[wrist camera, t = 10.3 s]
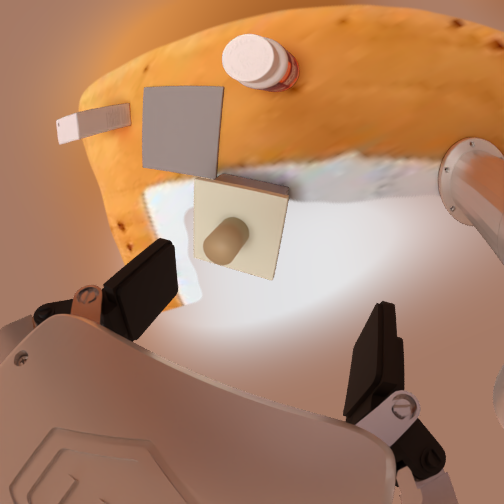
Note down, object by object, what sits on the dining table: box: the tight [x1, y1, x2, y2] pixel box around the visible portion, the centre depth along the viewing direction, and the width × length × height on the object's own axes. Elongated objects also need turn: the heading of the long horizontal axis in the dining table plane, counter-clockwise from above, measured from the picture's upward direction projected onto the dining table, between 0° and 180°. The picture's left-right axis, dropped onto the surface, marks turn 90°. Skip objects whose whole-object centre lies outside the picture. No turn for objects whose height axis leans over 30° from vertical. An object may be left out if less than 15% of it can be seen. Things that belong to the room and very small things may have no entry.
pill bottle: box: [222, 34, 299, 92], centre depth 25 cm, size 6×6×11 cm
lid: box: [194, 177, 289, 280], centre depth 34 cm, size 12×12×6 cm
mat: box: [142, 86, 224, 179], centre depth 38 cm, size 14×14×1 cm
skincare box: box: [56, 103, 131, 144], centre depth 35 cm, size 6×4×12 cm
